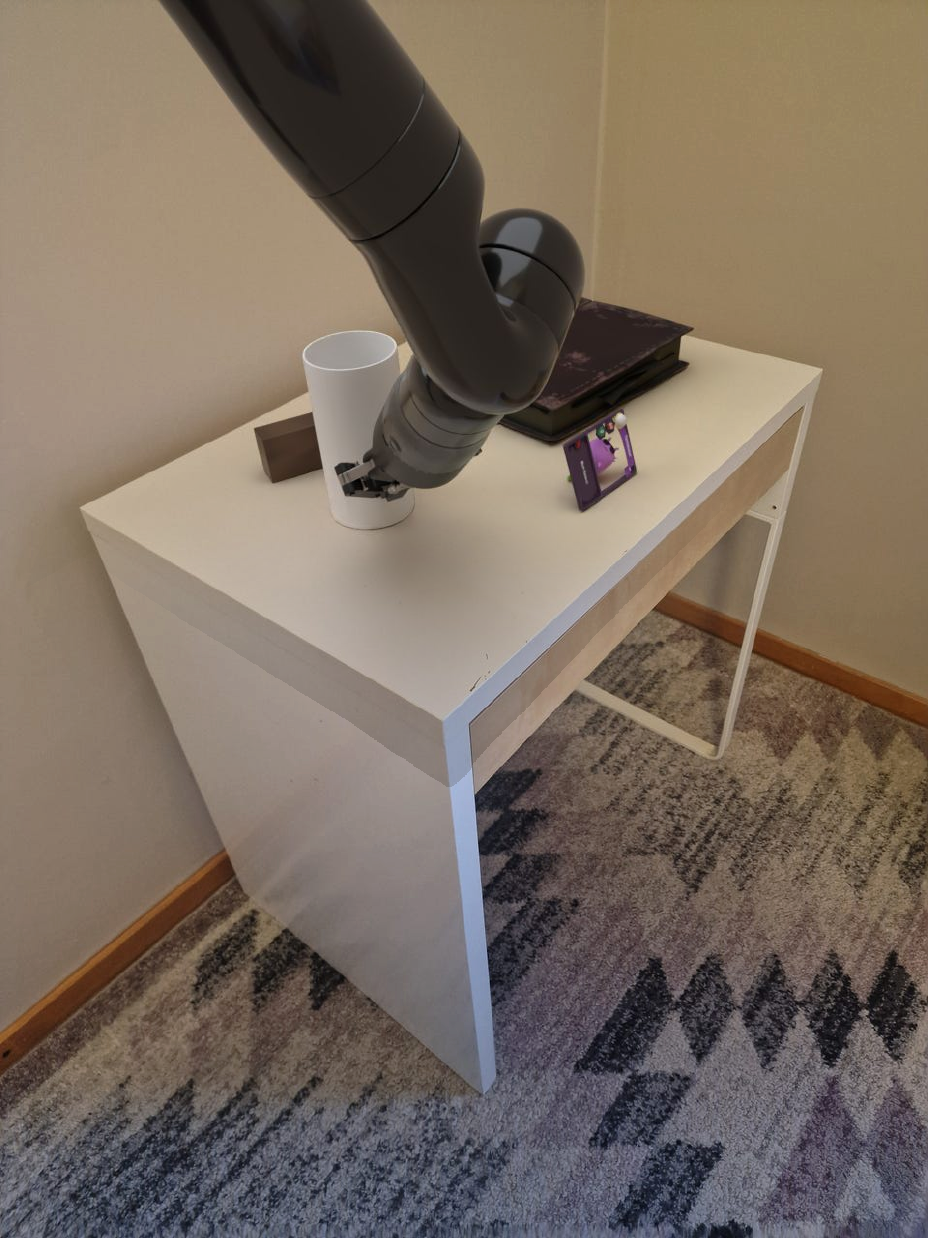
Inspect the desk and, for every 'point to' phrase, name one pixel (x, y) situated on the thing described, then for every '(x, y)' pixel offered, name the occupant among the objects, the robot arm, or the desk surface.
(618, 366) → the diary
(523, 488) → the desk surface
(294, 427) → the bar
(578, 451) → the packaged eggplant toy
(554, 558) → the desk surface
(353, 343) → the cup
